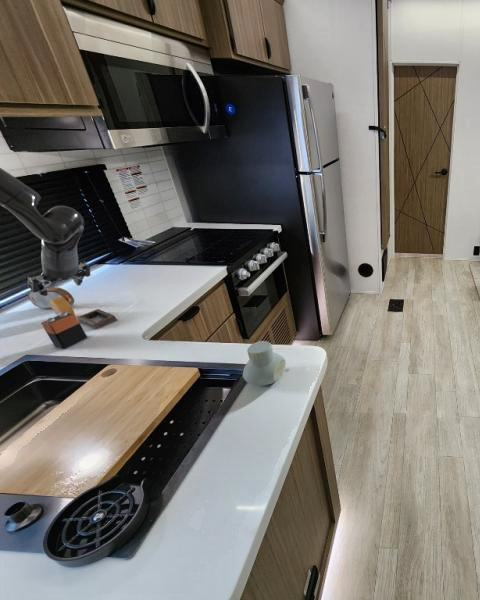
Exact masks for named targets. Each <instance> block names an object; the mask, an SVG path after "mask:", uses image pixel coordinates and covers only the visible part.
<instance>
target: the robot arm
mask: <svg viewBox="0 0 480 600" xmlns="http://www.w3.org/2000/svg"><path fill="white" fill-rule="evenodd" d="M40 201H41V195H40V194H39V193H38V192H37V191H36V190H34V189H32V188H31V187H30V186H28V185H27V184H25V183H24V182H23V181H21V180H20V179H18V178H17V177H15V176H13V175H12V174H11V173H9V172H7V171H6V170H5V169H3V168H1V167H0V206H1V207H3V208H4V209H6V210H8V211H9V212H10V213H11V214H12V215H13V216H15V217H16V219H18V220H19V221H20V222H21V223H22V224H23V225H24V226H25V227H26V228H27V229H28V230H29V231H30V232H31V233H32V234H33V235H35V236H36V237H37V238H38V239H39V240H41V243H40V244H41V253H40V259H41V261H40V262H41V270H42V273H41V274H40V275H36V276H34V275H33V274H30V275H28V276H27V287H28V289H30V291H31V290H32V292H33V293H35V292H39V294H40V295H44V296H47V295H48V294H47V289H48V288H49V287H54V286H55V285H56V284H58V283H60V282H63V281H67V280H70V279H72V280H73V282H74V283H75V284H76V286H77V287H78V286H81V285H82V283H83V280H84V278H85V277H86V278H88V277H90V276H91V266H90V265H89V264H88V263H87V262H86V261H85V260H83V261H82V260H81V261H80V263H79V254H78V243H79V241H80V239H81V237H82V234H83V232H84V229H85V220H84V217H83V216H82V215H81V213H80V212H79V211H77V210H76V209H75V208H72V207H70V206H67V205H55V206H53V207H52V208H50V209H49V210H48V211H46V212H45V213H44V214H43V215H42V214H41V213H40V212H39V210H38V209H37V206H38V204H39V202H40ZM79 270H80V271H79Z"/></svg>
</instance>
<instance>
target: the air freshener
mask: <svg viewBox="0 0 480 600" xmlns="http://www.w3.org/2000/svg"><path fill="white" fill-rule="evenodd" d="M246 353H247V355H248V361H247V362H246V364H245V365H244V367H243V371H242V377H243V379H244V381H245V382H246V383H248V385H249V384H250V385H252V386H256V387H263V386H268V385H271V384H273V383H275V382H277V381H279V380H280V378H281V377H282V376H283V374H284V371H285V368H286V359H285V357H283V356H282V355H281V354H279V353H276V352H274V350H273V346H272V344H271V342H269V341H267V340H260V341H256V342H254V343H252V344H250V345H249V346H248V348H247V350H246Z"/></svg>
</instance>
